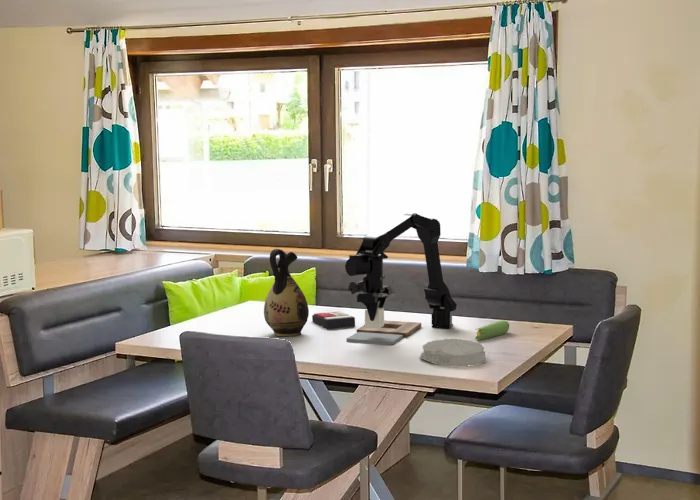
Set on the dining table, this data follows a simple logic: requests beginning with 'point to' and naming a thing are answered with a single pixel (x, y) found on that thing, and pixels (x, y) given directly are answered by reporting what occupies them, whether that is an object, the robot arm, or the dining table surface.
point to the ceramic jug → (285, 298)
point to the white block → (377, 321)
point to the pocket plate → (402, 327)
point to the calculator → (333, 320)
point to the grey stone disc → (454, 352)
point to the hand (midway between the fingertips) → (374, 319)
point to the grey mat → (374, 338)
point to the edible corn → (492, 330)
